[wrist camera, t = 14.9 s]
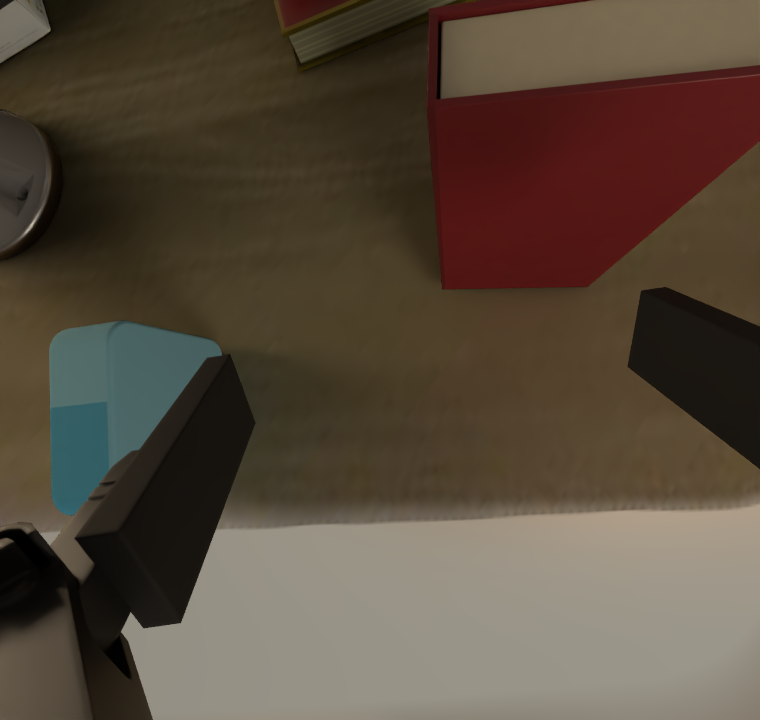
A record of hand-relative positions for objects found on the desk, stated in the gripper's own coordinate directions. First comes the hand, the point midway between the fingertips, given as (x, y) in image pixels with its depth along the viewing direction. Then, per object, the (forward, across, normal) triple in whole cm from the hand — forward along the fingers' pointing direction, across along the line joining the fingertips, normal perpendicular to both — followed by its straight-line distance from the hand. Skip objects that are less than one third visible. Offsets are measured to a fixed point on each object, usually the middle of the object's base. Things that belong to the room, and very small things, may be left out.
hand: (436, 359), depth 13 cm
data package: (+19, -18, -12) cm, 29 cm away
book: (+12, +8, +4) cm, 15 cm away
